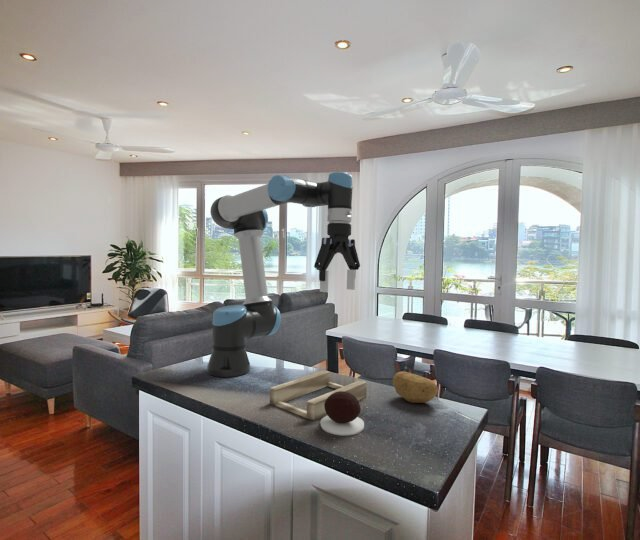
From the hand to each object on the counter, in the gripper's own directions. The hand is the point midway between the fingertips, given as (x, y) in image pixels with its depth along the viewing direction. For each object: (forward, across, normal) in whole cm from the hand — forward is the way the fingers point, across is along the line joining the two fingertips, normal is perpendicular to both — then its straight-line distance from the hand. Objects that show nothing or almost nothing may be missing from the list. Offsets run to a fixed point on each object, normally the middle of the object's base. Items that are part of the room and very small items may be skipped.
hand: (337, 290), depth 123 cm
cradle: (+32, -10, -2) cm, 33 cm away
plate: (+32, -19, -18) cm, 41 cm away
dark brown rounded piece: (+31, -19, -17) cm, 40 cm away
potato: (+32, +9, -23) cm, 40 cm away
